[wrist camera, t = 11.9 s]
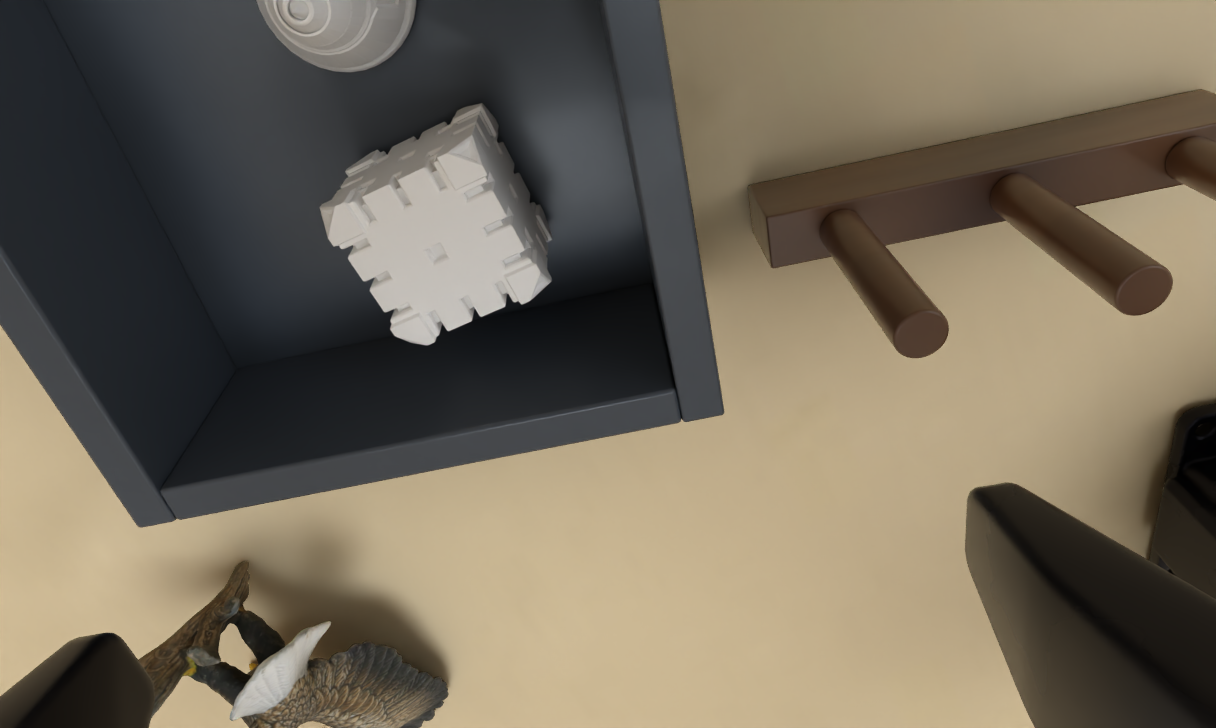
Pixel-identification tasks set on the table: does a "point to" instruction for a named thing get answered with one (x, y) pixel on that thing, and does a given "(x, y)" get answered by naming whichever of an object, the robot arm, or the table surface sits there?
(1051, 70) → the table surface
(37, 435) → the table surface
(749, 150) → the table surface
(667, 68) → the open box
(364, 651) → the eagle figurine
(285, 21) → the game pieces
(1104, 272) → the drying rack
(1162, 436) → the table surface
